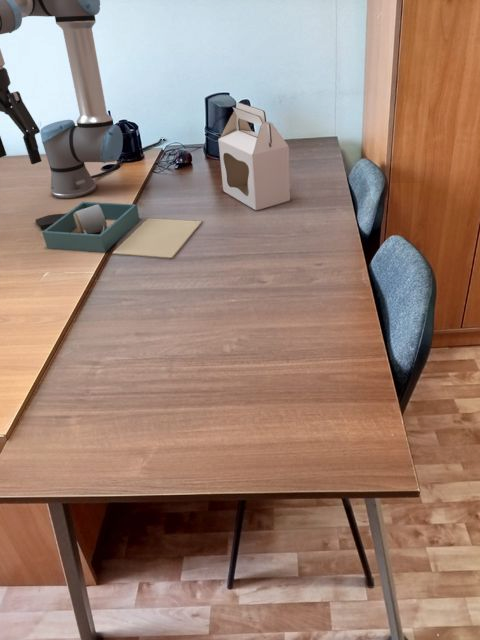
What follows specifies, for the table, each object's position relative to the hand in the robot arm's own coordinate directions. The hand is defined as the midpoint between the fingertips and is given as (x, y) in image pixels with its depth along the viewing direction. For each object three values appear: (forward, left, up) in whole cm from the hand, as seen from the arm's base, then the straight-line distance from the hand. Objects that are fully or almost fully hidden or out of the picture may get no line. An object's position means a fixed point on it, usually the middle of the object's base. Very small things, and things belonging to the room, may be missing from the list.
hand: (18, 159), depth 138 cm
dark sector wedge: (-18, -8, -26) cm, 32 cm away
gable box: (-47, +50, -26) cm, 73 cm away
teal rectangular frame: (-12, +9, -26) cm, 30 cm away
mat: (-12, +30, -26) cm, 41 cm away
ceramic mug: (-12, +9, -26) cm, 30 cm away
